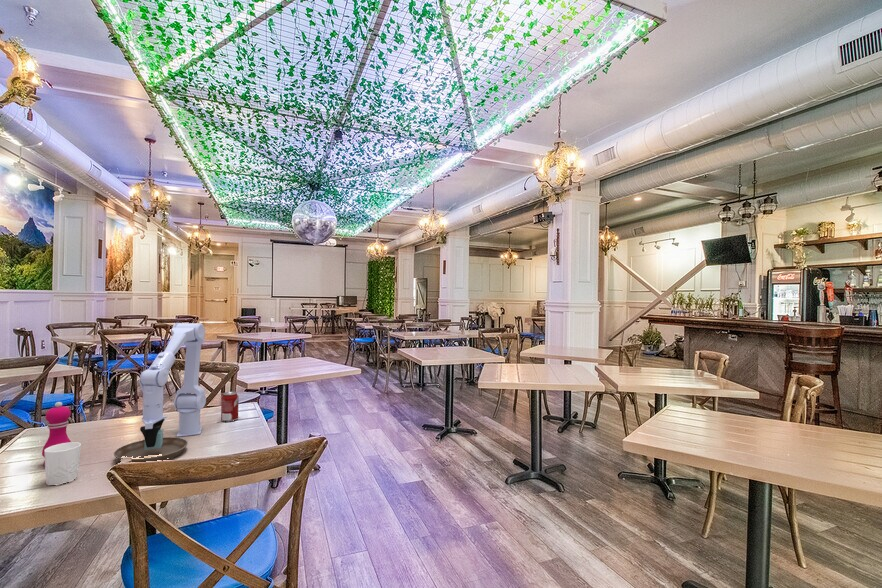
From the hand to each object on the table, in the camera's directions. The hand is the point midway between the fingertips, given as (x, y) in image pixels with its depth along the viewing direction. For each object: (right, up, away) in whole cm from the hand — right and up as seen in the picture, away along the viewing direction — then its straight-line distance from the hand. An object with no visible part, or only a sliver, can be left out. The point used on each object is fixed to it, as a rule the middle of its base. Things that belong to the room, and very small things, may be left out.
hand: (152, 443), depth 140 cm
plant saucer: (0, -5, 0) cm, 4 cm away
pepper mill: (-25, -4, -8) cm, 27 cm away
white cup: (-13, -4, -20) cm, 24 cm away
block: (0, -1, 0) cm, 1 cm away
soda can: (+6, -4, +40) cm, 40 cm away
